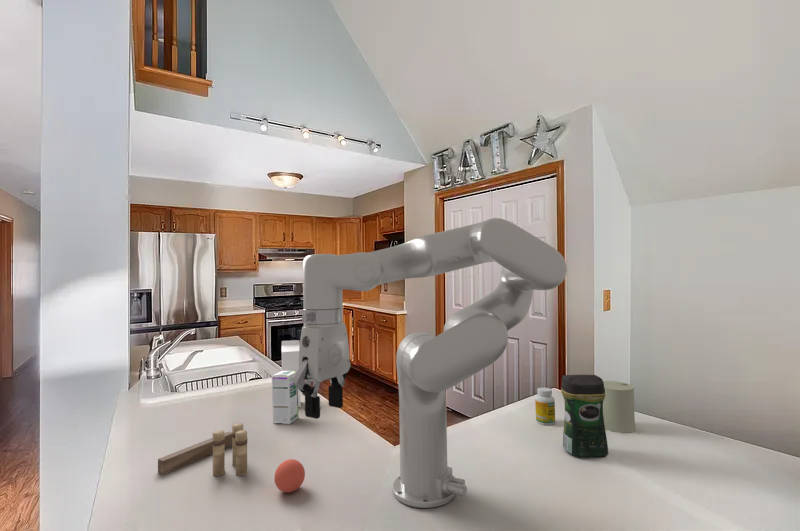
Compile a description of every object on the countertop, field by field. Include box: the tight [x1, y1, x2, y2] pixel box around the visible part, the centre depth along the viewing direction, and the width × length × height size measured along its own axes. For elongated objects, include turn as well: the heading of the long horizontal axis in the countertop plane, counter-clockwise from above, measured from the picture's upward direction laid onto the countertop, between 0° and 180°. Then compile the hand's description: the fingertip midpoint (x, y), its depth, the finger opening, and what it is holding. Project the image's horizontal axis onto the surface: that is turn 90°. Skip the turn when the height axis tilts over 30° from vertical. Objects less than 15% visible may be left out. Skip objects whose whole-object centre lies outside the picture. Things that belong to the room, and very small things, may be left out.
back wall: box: [157, 431, 232, 475], centre depth 97 cm, size 2×18×3 cm, turn 150°
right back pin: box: [231, 422, 244, 467], centre depth 93 cm, size 2×2×9 cm
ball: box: [273, 458, 306, 493], centre depth 81 cm, size 6×6×6 cm
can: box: [603, 380, 637, 434], centre depth 112 cm, size 9×9×12 cm
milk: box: [281, 339, 302, 408], centre depth 135 cm, size 6×6×22 cm
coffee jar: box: [560, 374, 609, 459], centre depth 96 cm, size 10×8×19 cm
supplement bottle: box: [534, 387, 556, 426], centre depth 116 cm, size 5×5×10 cm
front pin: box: [235, 429, 248, 477], centre depth 89 cm, size 2×2×9 cm
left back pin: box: [212, 429, 226, 477], centre depth 89 cm, size 2×2×9 cm
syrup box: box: [271, 370, 299, 425], centre depth 121 cm, size 6×6×14 cm
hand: (324, 410), depth 76 cm, fingers open, 5 cm apart
